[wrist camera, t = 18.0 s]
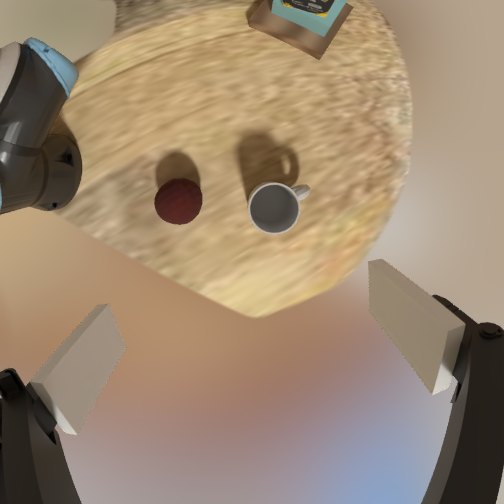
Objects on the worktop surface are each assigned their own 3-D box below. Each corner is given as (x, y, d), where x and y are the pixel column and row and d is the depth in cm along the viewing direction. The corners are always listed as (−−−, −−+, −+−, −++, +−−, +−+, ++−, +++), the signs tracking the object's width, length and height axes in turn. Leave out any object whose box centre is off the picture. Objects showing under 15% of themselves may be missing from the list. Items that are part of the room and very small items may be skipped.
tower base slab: (249, 28, 40) (249, 18, 36) (283, -15, 37) (285, -26, 33) (318, 61, 42) (323, 53, 38) (347, 16, 39) (353, 7, 35)
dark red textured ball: (154, 194, 47) (140, 197, 40) (191, 168, 46) (182, 168, 39) (177, 229, 49) (166, 238, 42) (214, 205, 48) (209, 210, 41)
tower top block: (271, 12, 36) (272, 1, 32) (295, -19, 33) (298, -30, 30) (324, 37, 37) (329, 27, 33) (344, 4, 35) (350, -6, 31)
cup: (240, 193, 47) (238, 197, 39) (294, 166, 46) (304, 165, 38) (260, 231, 49) (262, 243, 41) (312, 205, 48) (326, 212, 39)
